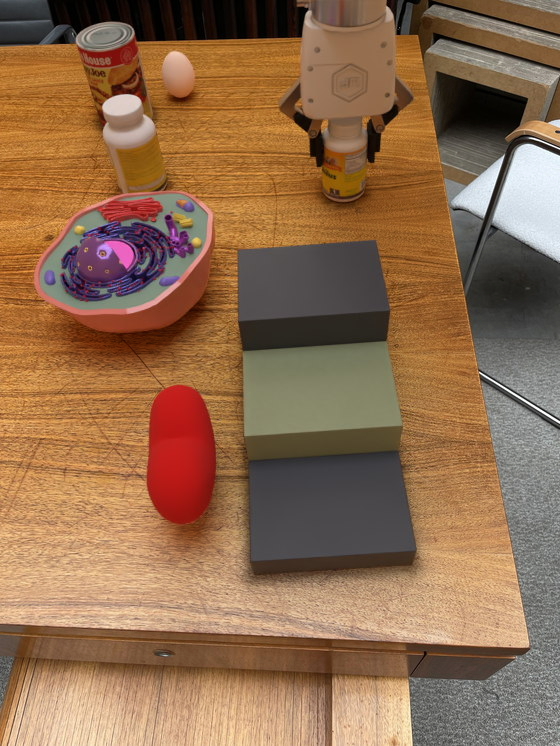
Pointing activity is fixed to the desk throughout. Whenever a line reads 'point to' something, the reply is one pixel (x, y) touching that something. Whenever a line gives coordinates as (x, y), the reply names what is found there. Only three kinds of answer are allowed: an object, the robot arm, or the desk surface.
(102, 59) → the canned food
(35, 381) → the desk surface
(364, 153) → the supplement bottle
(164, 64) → the egg
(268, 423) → the tiered shelf
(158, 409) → the red kidney model
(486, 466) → the desk surface
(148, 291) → the cell model
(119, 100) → the pill bottle
